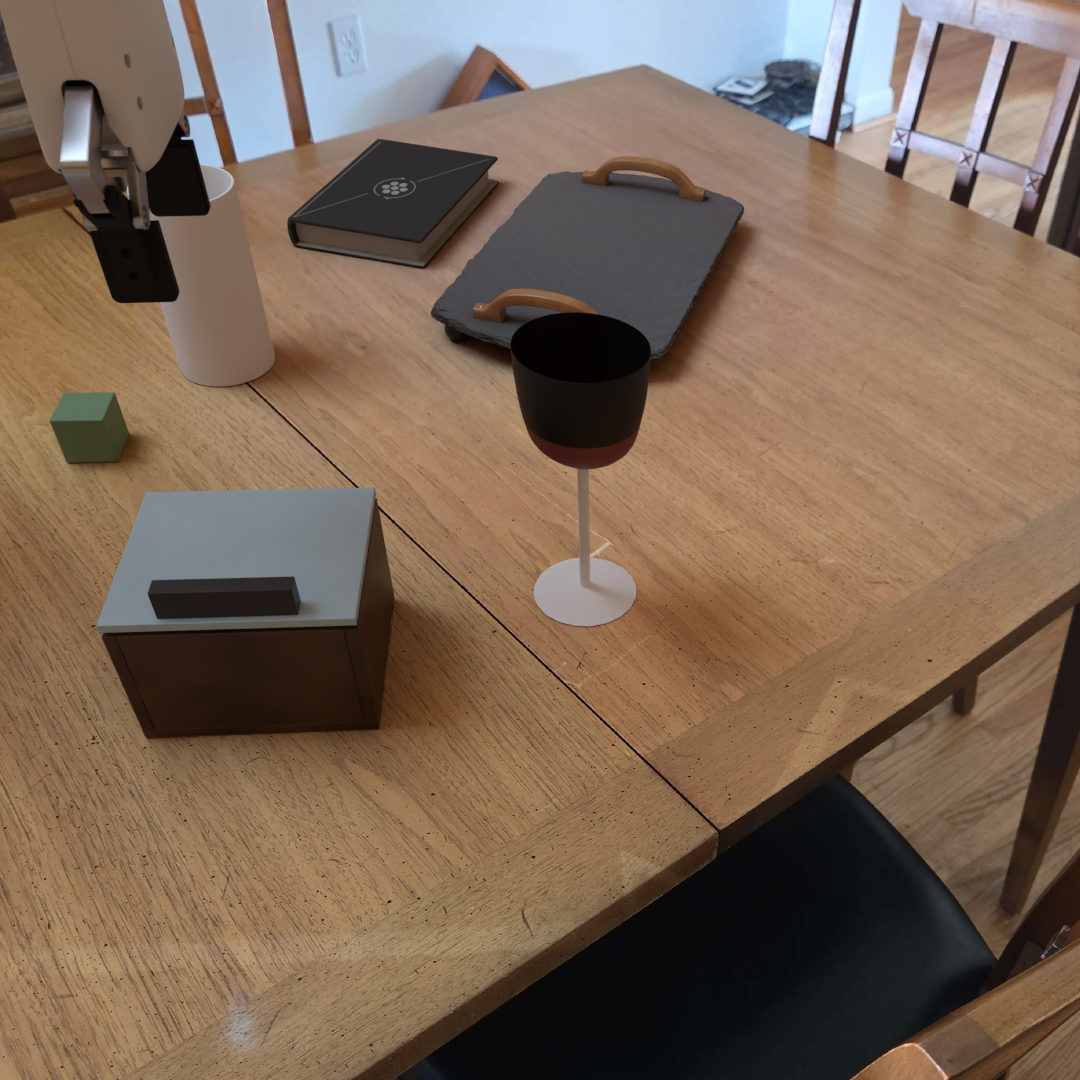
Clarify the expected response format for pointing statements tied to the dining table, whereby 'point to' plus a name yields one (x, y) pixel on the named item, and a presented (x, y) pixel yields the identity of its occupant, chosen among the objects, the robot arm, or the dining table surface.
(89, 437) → the block
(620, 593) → the wineglass
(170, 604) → the sliding box lid
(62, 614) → the dining table surface
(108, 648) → the case
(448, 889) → the dining table surface
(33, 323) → the dining table surface
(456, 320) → the serving tray
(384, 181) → the book
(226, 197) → the cup
